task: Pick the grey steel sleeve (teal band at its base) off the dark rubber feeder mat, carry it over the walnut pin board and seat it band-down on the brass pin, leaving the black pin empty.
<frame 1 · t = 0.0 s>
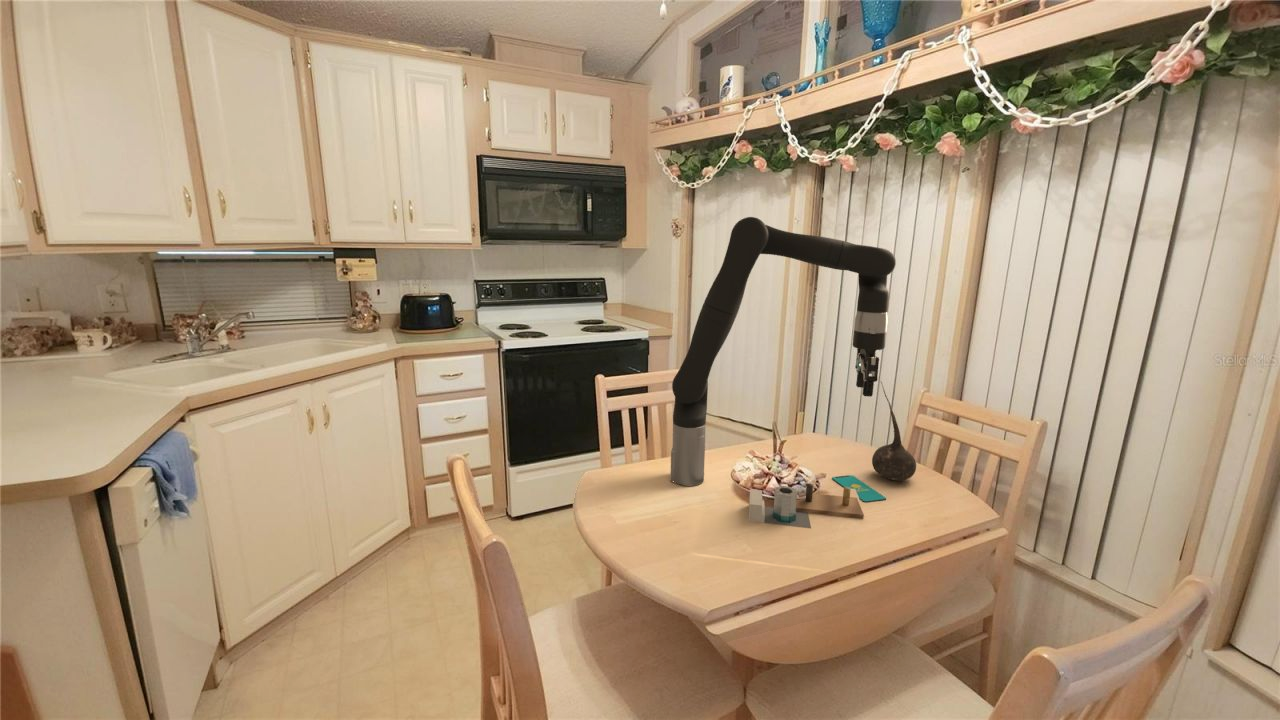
hand: (863, 391, 131), 29 cm above the table, fingers open, 8 cm apart
pin board: (826, 507, 131), on the table
radish: (888, 479, 148), on the table
smartphone: (857, 490, 141), on the table
feeder mat: (783, 518, 125), on the table
sleeve: (784, 516, 125), resting on feeder mat
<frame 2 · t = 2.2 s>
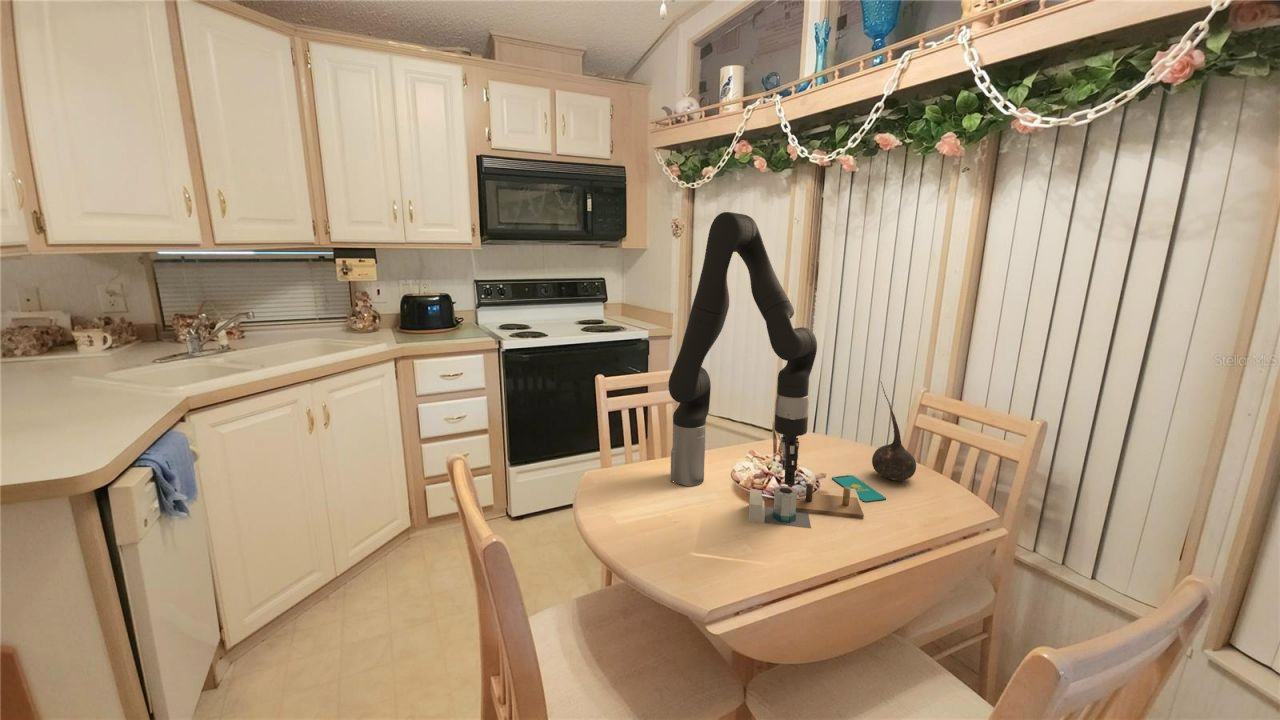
hand: (788, 476, 123), 11 cm above the table, fingers open, 8 cm apart
nothing on the table moved.
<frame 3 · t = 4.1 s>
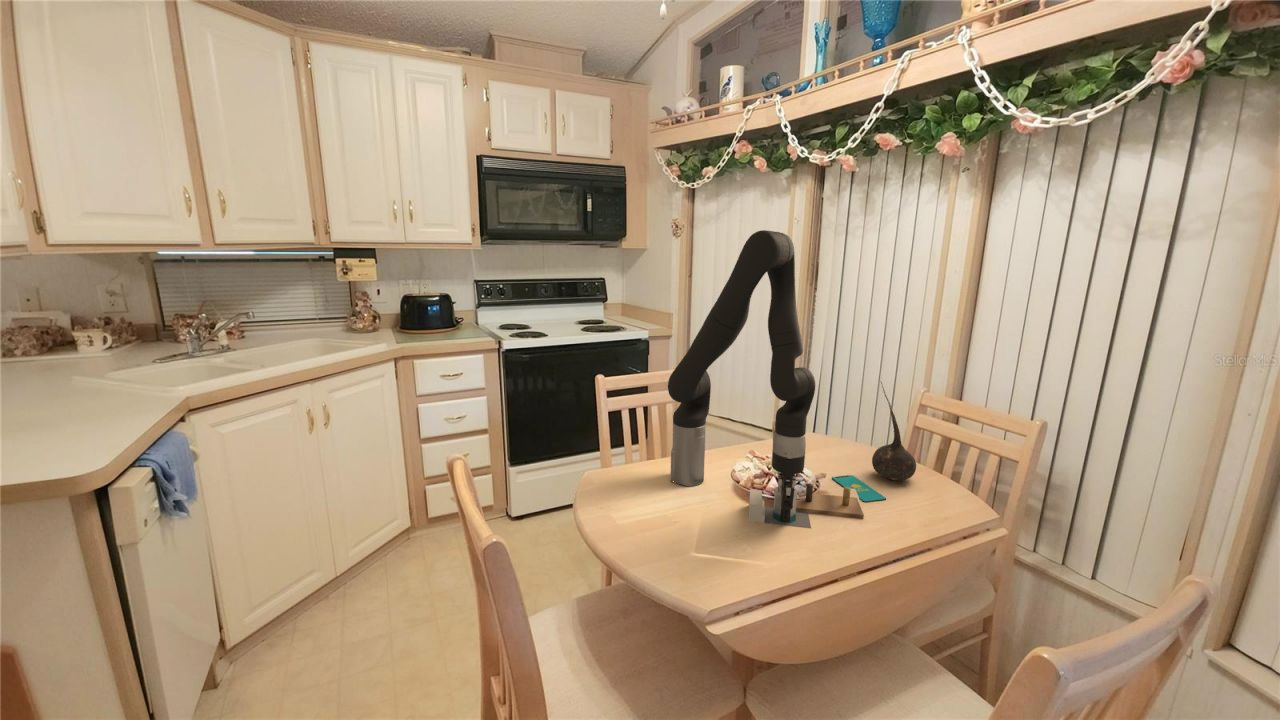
hand: (784, 514, 125), 1 cm above the table, fingers closed on sleeve, 5 cm apart
sleeve: (784, 516, 125), point 1 cm above the table, touching feeder mat, gripper
everything else where it was.
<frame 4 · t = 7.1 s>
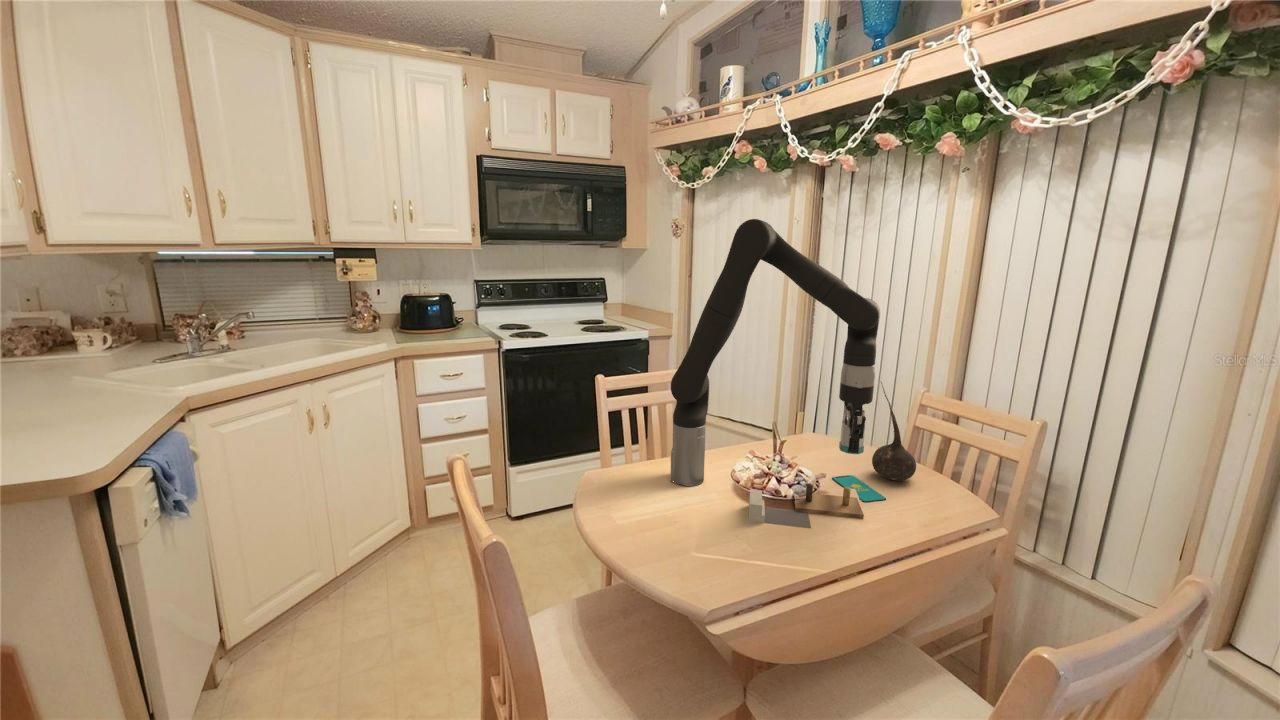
hand: (851, 447, 126), 17 cm above the table, fingers closed on sleeve, 5 cm apart
sleeve: (851, 449, 126), point 16 cm above the table, touching gripper
everything else where it was.
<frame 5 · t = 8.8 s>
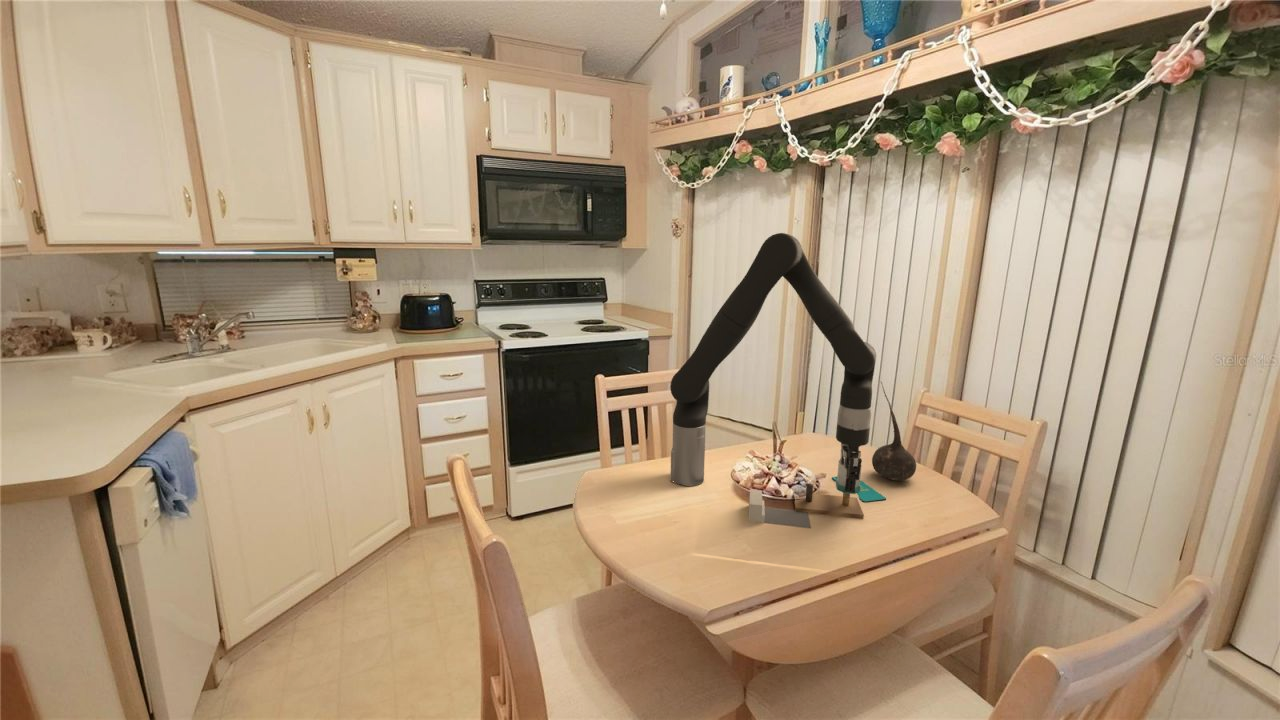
hand: (847, 486, 128), 6 cm above the table, fingers closed on sleeve, 5 cm apart
sleeve: (847, 488, 128), point 6 cm above the table, touching gripper
everything else where it was.
when the fingers open (5 cm above the table, at t = 10.0 s): sleeve drops 2 cm, resting on pin board.
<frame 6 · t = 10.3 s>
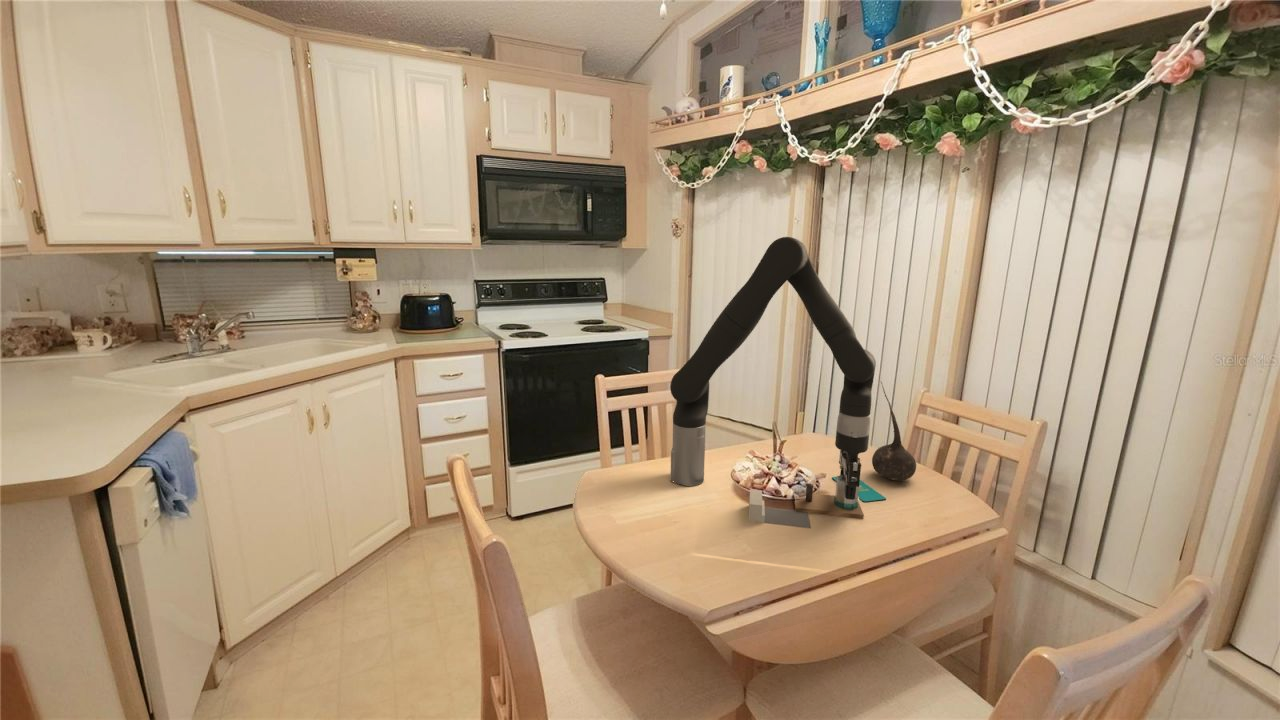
hand: (846, 491, 128), 5 cm above the table, fingers open, 8 cm apart
sleeve: (845, 504, 129), point 1 cm above the table, touching pin board
everything else where it was.
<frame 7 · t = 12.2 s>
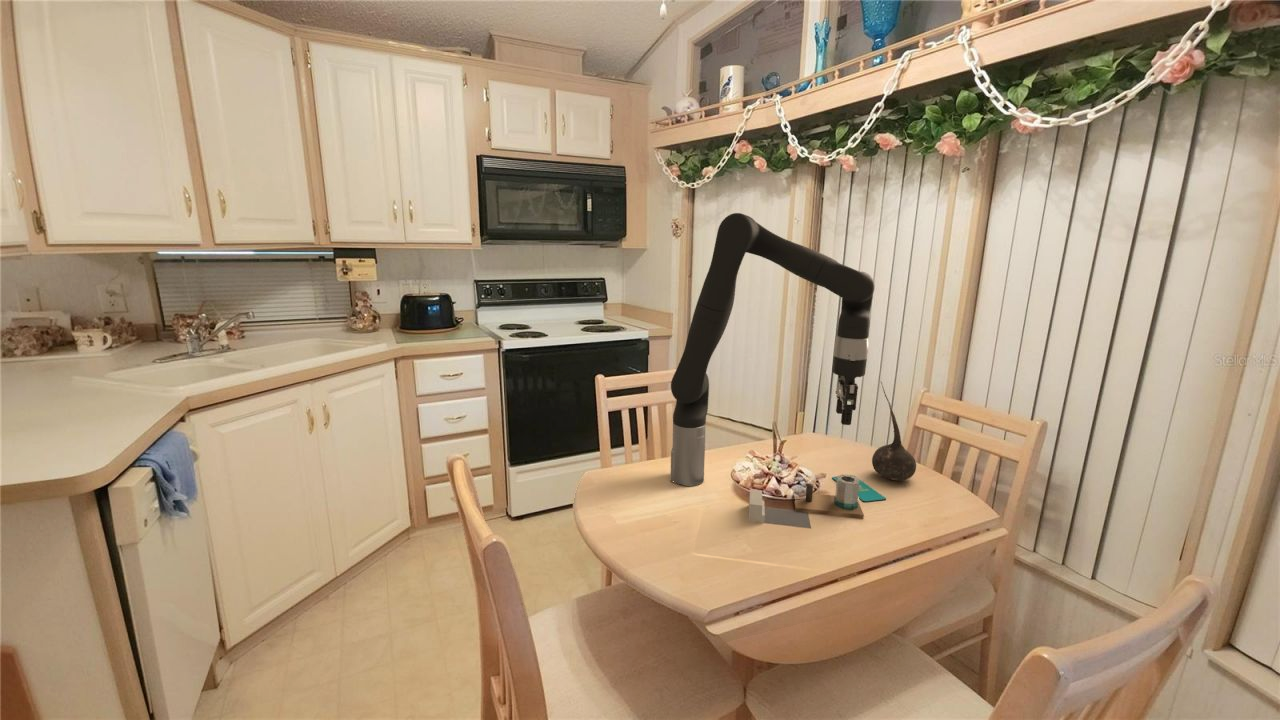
hand: (843, 418, 126), 24 cm above the table, fingers open, 8 cm apart
nothing on the table moved.
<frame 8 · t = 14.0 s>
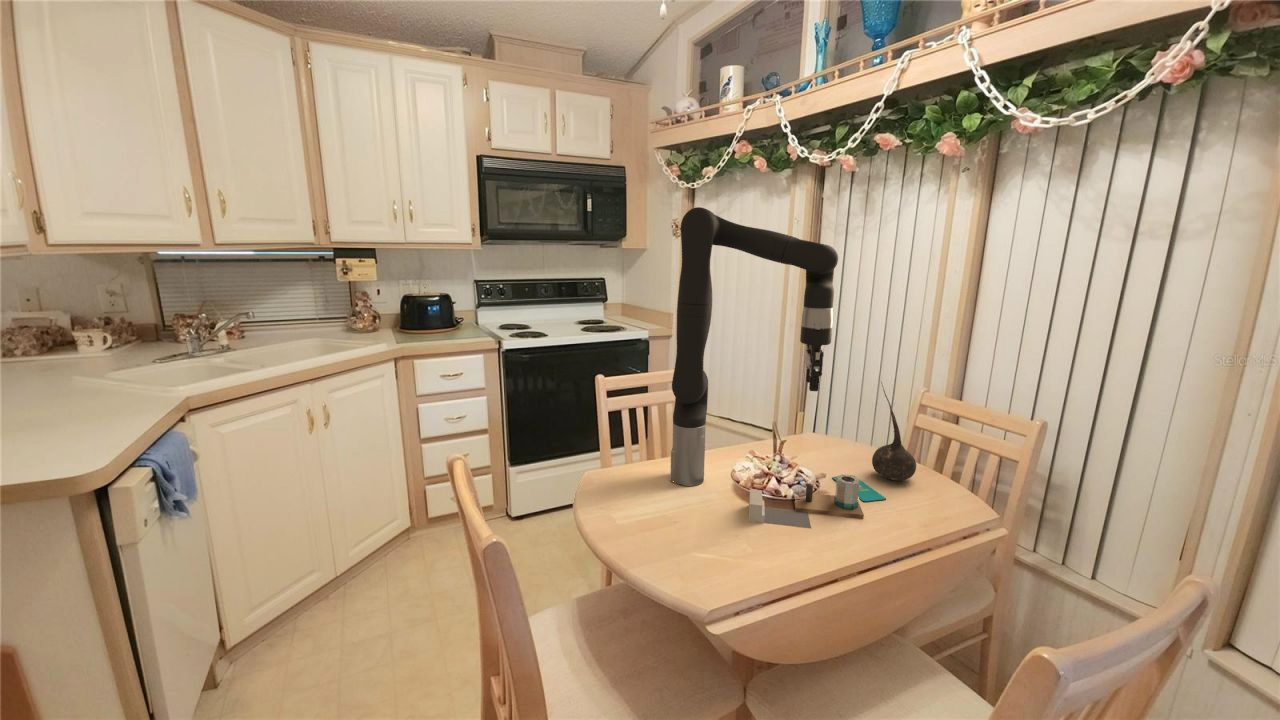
hand: (811, 386, 132), 30 cm above the table, fingers open, 8 cm apart
nothing on the table moved.
at the end: sleeve 0.0 cm from the target spot on the pin board, point 1.5 cm above the pin board's base; sleeve tilted 0°; the gripper is holding nothing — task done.
